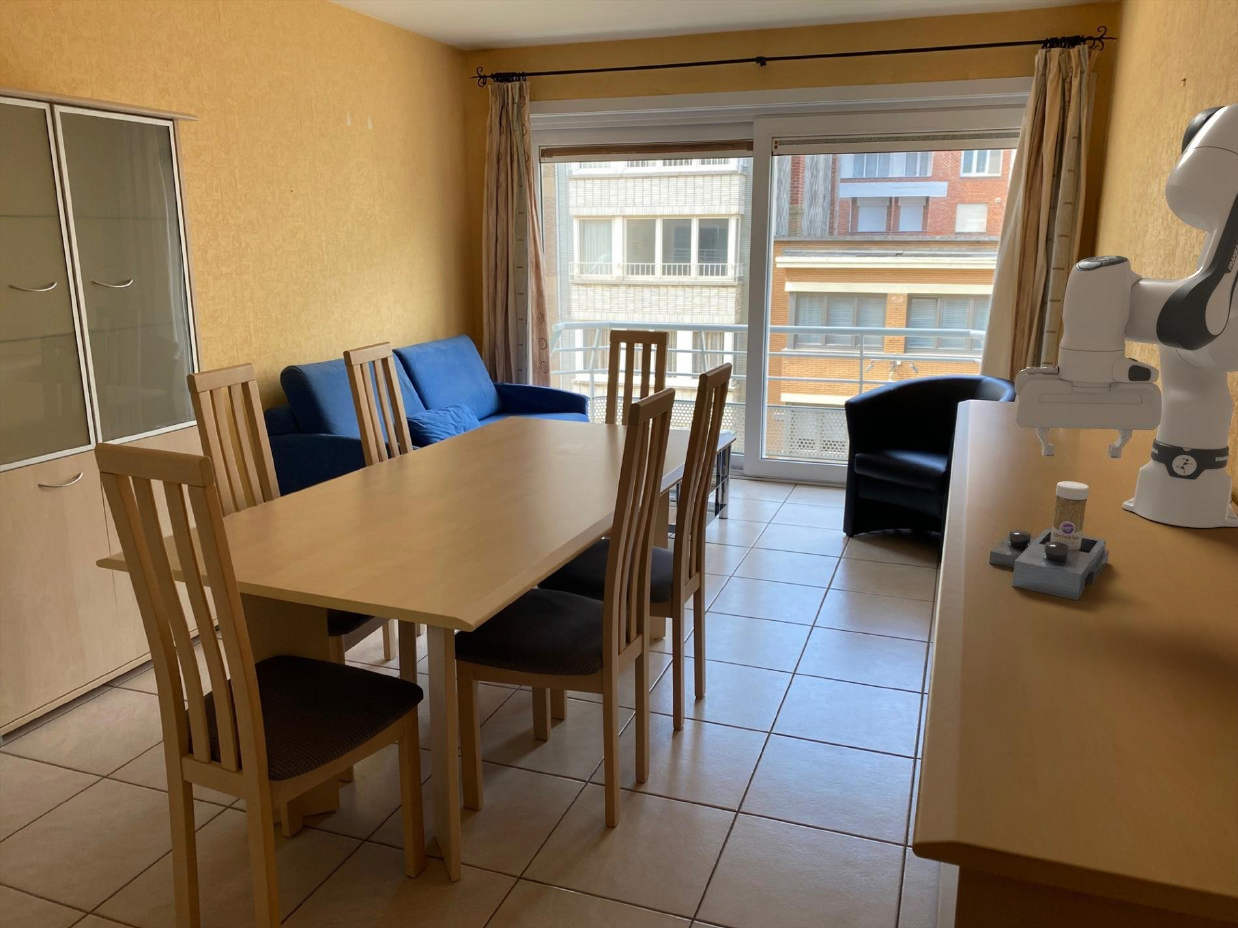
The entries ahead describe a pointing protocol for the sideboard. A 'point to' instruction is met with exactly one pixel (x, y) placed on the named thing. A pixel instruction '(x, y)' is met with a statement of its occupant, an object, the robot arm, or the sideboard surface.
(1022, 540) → the grey knobbed tray
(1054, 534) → the sprinkles bottle
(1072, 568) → the grey box with knob
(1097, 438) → the sideboard surface
